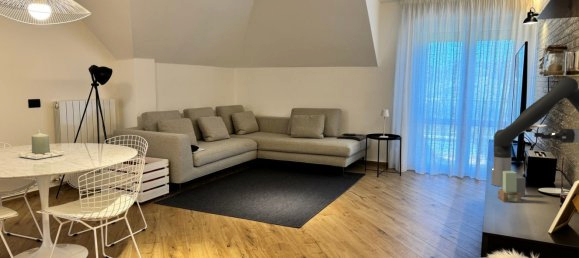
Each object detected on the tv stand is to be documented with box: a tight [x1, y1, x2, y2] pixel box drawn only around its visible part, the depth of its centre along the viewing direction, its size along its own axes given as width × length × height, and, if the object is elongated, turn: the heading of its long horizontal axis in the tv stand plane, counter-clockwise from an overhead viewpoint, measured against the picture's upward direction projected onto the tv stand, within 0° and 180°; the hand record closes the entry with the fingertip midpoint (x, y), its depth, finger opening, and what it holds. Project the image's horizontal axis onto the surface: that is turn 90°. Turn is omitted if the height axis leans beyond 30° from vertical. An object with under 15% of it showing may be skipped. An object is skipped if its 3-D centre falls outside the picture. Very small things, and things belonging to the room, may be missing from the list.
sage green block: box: [502, 170, 518, 192], centre depth 203 cm, size 5×5×10 cm
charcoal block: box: [517, 175, 526, 198], centre depth 213 cm, size 5×5×10 cm
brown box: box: [497, 188, 522, 204], centre depth 204 cm, size 8×8×5 cm
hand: (538, 135), depth 211 cm, fingers open, 8 cm apart
